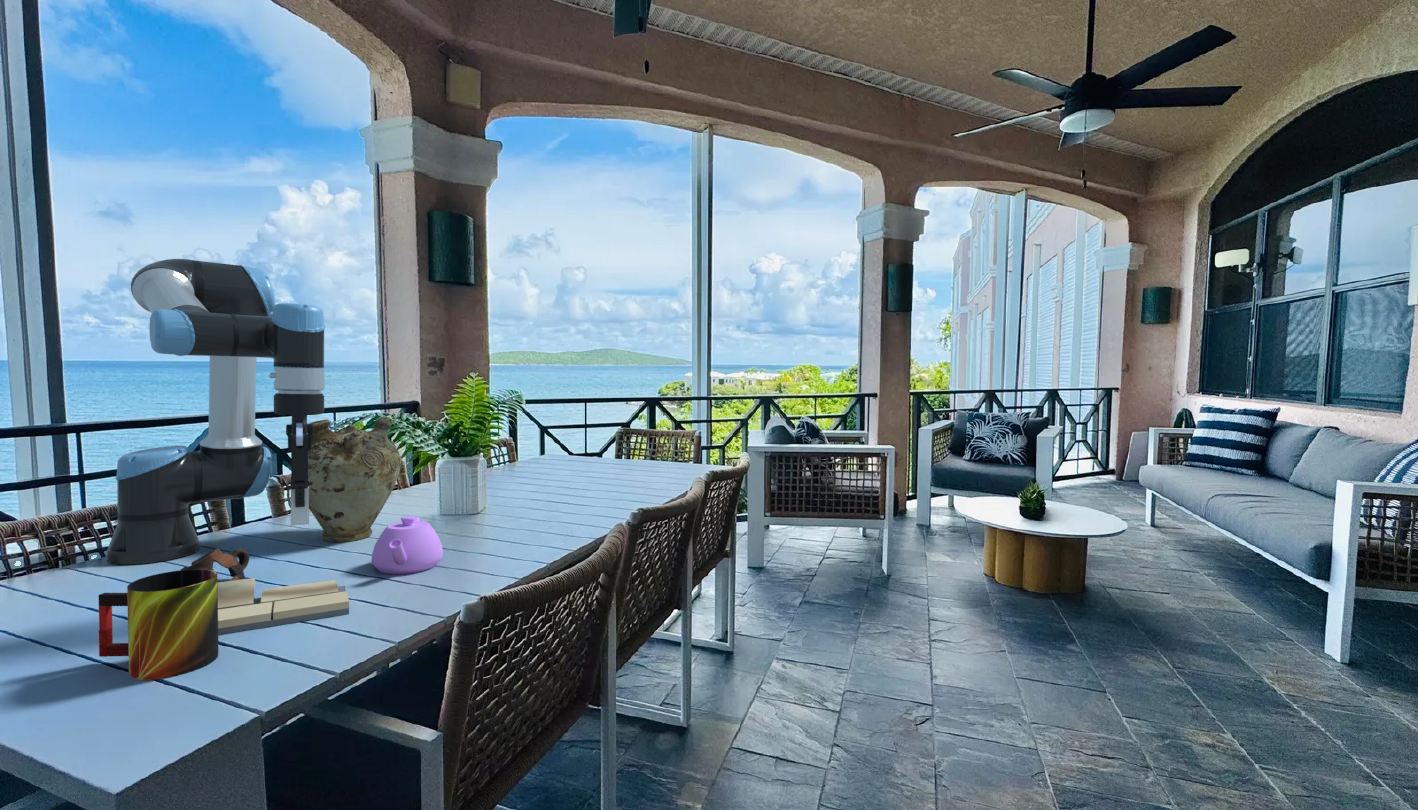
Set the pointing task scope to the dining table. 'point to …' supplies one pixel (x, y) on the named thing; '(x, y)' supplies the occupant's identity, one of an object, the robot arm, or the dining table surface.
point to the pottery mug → (223, 562)
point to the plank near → (236, 593)
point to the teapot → (407, 547)
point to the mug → (165, 623)
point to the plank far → (298, 591)
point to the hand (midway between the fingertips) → (300, 523)
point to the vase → (350, 478)
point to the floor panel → (282, 612)
